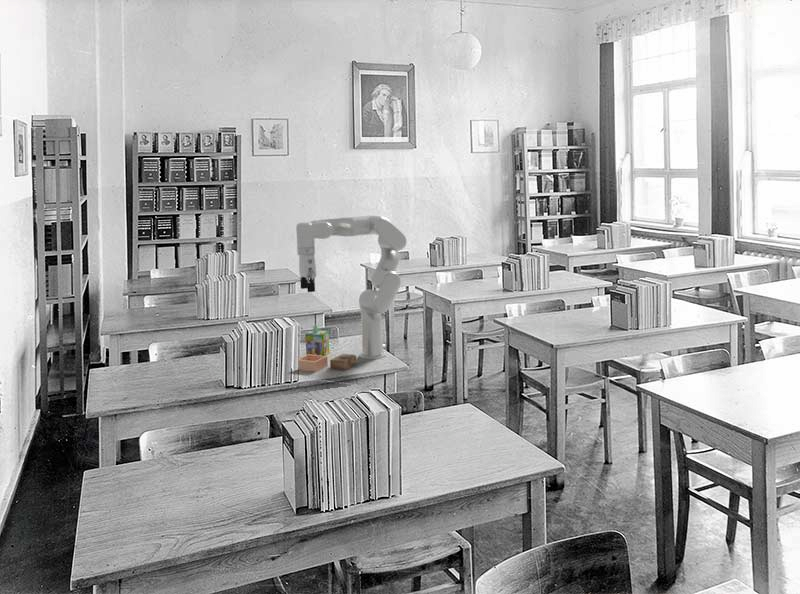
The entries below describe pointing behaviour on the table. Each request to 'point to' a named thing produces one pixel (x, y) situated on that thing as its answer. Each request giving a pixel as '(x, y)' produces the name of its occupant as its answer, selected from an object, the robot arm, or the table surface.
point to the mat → (344, 370)
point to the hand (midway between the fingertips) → (307, 290)
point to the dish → (312, 363)
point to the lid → (343, 362)
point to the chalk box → (317, 342)
